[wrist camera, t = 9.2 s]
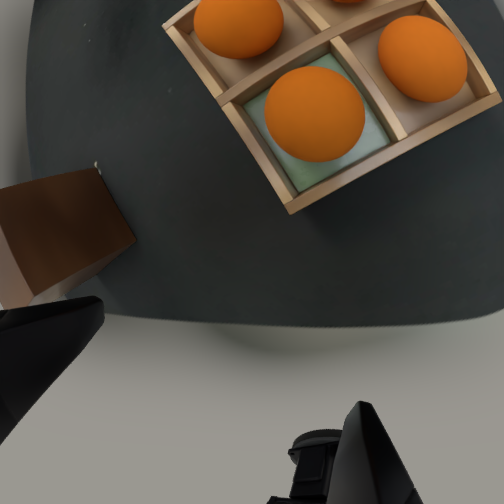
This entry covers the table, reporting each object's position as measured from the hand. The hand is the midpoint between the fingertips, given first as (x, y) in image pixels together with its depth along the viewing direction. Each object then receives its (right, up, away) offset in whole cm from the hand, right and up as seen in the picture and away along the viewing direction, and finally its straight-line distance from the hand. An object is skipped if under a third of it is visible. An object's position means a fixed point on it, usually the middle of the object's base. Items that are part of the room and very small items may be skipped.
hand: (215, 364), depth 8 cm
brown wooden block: (-12, +6, +13) cm, 19 cm away
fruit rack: (+6, +15, +4) cm, 16 cm away
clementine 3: (+10, +13, +3) cm, 17 cm away
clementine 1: (+1, +16, +5) cm, 17 cm away
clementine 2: (+4, +10, +6) cm, 13 cm away
